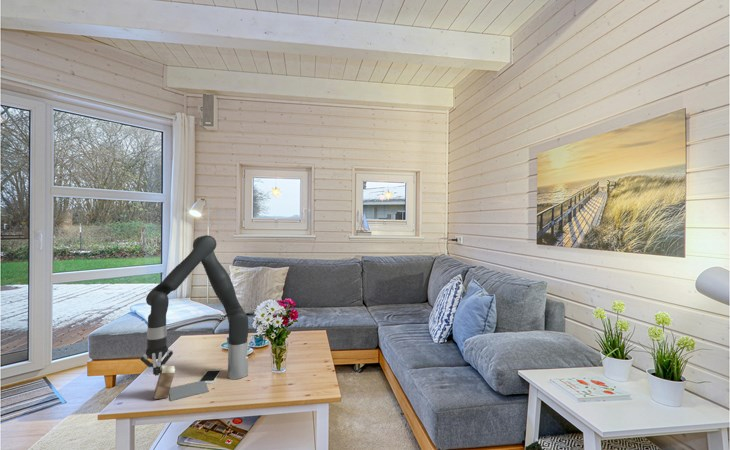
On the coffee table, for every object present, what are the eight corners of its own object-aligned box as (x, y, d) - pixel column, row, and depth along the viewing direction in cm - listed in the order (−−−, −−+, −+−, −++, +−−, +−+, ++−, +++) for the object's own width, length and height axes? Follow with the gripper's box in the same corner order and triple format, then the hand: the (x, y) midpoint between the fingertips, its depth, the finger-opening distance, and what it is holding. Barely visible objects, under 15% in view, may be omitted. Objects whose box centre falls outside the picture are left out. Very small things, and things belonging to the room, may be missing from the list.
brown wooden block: (166, 392, 154) (174, 365, 156) (167, 398, 149) (175, 370, 151) (154, 392, 152) (162, 365, 153) (154, 398, 146) (162, 370, 148)
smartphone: (197, 385, 163) (197, 383, 163) (208, 371, 178) (208, 369, 178) (212, 384, 164) (212, 382, 164) (222, 370, 179) (222, 368, 179)
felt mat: (204, 380, 166) (204, 379, 166) (208, 391, 155) (208, 390, 155) (168, 388, 158) (168, 387, 158) (170, 401, 147) (170, 400, 147)
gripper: (173, 331, 156) (173, 368, 156) (139, 336, 149) (139, 375, 149) (174, 335, 150) (174, 374, 150) (139, 341, 143) (138, 381, 143)
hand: (156, 374), depth 149 cm, fingers closed
